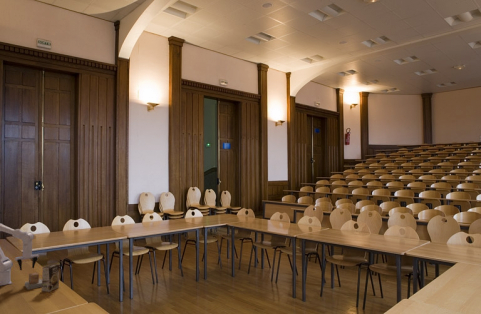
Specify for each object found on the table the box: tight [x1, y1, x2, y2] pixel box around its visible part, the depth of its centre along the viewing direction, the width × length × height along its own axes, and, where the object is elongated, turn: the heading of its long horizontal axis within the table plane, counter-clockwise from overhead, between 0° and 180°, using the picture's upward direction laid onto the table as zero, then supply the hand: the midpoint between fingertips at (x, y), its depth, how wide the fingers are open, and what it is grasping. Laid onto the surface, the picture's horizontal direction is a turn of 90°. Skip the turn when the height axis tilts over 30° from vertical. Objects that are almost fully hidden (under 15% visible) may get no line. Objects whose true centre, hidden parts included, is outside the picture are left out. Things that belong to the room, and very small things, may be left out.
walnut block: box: [28, 272, 40, 284], centre depth 248 cm, size 5×5×6 cm
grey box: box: [24, 278, 42, 291], centre depth 248 cm, size 10×10×3 cm
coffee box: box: [41, 263, 60, 293], centre depth 243 cm, size 9×6×16 cm
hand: (27, 268), depth 253 cm, fingers open, 7 cm apart
